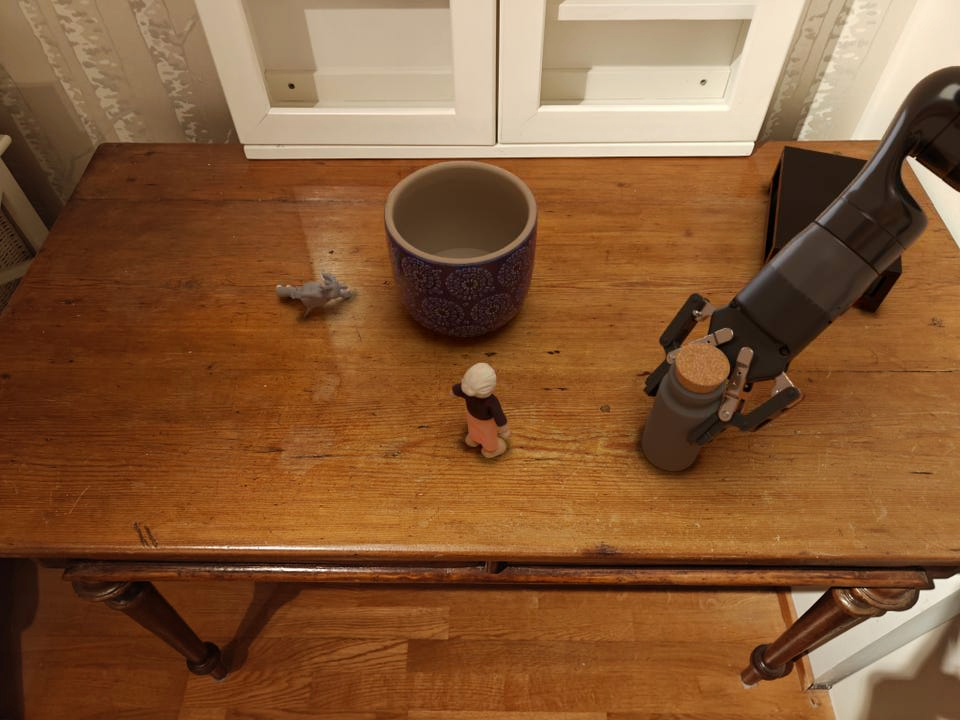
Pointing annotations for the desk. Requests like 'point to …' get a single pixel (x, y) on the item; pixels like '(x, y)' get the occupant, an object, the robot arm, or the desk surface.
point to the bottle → (684, 405)
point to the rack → (814, 206)
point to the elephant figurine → (315, 291)
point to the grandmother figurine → (482, 410)
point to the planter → (461, 245)
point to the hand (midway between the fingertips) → (670, 418)
